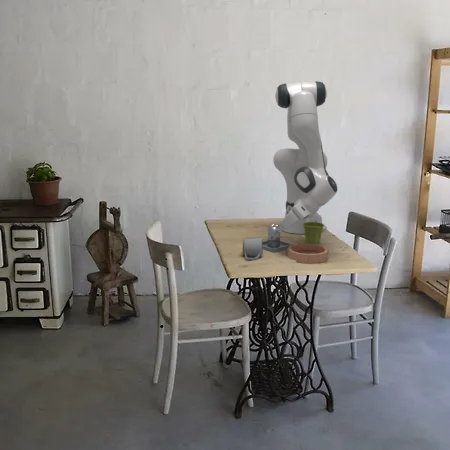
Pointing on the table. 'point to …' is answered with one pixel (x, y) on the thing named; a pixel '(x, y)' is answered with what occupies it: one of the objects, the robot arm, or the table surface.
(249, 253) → the ceramic mug
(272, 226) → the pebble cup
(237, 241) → the table surface
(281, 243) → the parts tray
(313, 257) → the terracotta bowl
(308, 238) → the plant pot
